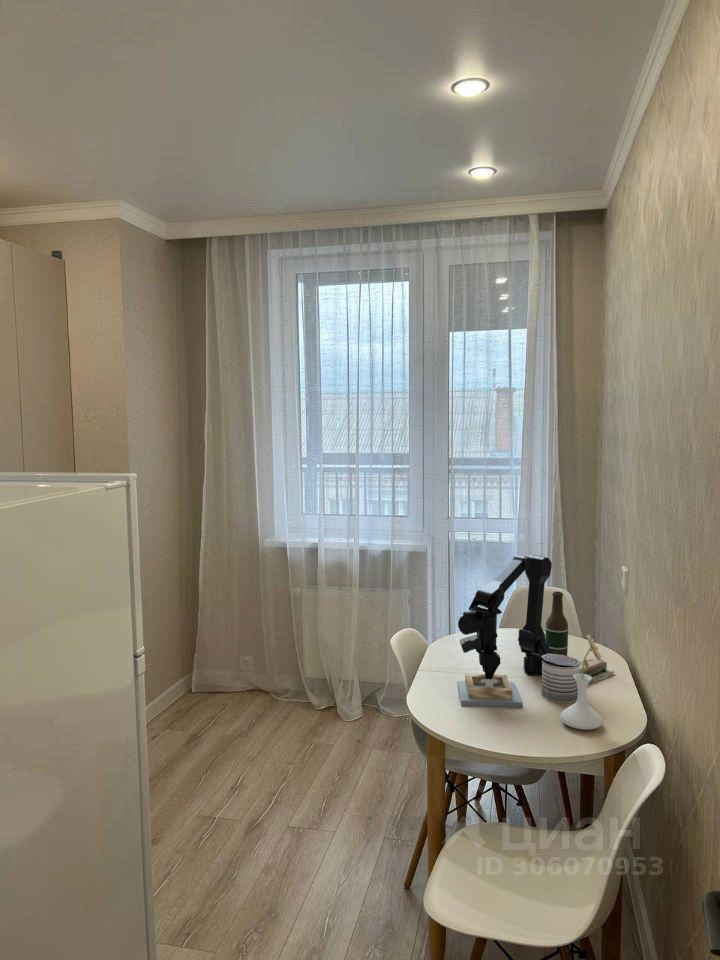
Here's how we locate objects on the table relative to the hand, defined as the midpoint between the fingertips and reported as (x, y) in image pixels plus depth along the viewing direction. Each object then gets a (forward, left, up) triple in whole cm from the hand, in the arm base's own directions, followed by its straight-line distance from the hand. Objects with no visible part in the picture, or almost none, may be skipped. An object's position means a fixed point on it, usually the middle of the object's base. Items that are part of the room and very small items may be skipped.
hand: (486, 677), depth 221 cm
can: (-22, +5, -4) cm, 23 cm away
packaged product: (-34, -13, -4) cm, 37 cm away
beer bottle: (-28, -30, -4) cm, 41 cm away
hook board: (0, +8, -4) cm, 8 cm away
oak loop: (0, +5, -2) cm, 6 cm away
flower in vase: (-24, +25, -4) cm, 35 cm away
